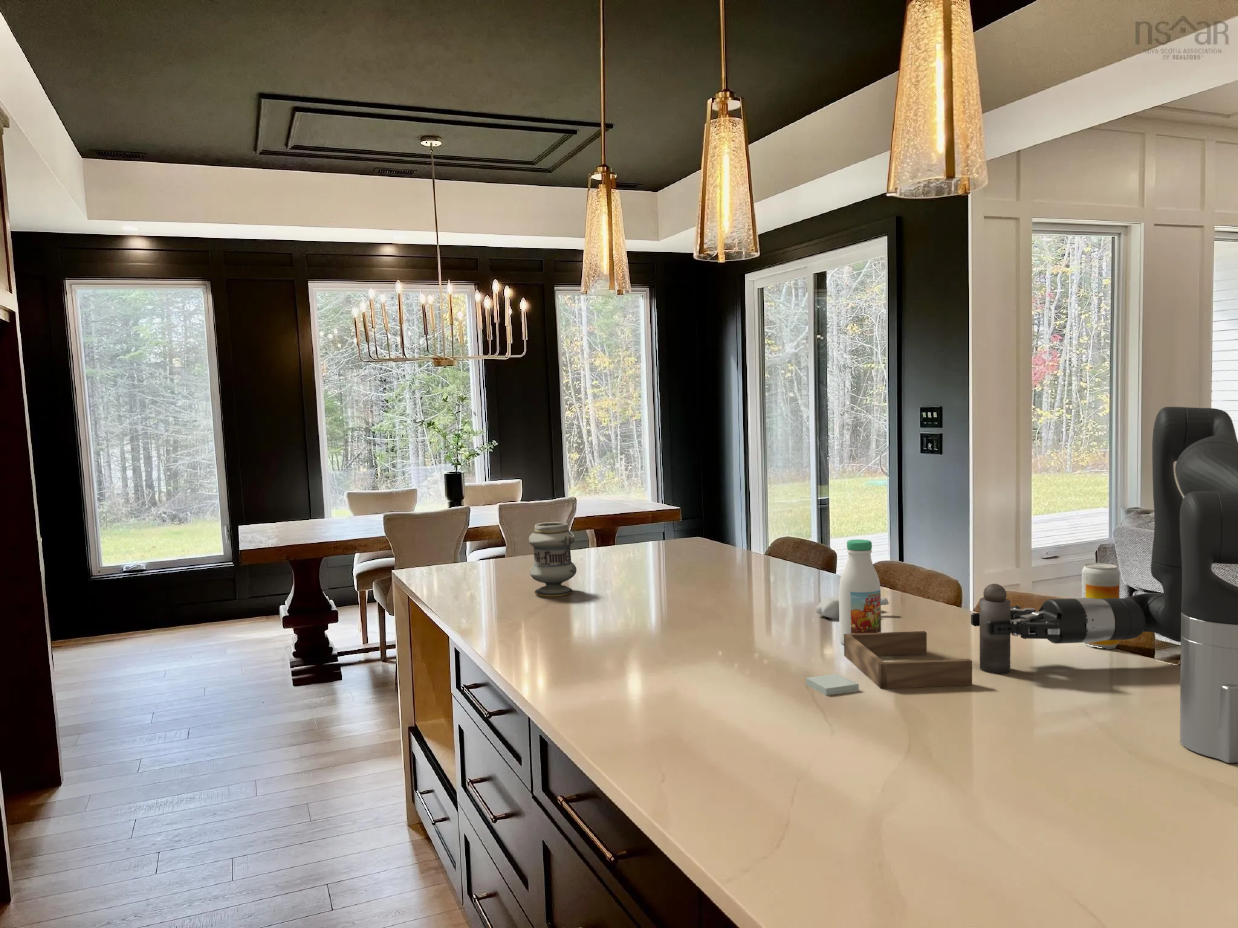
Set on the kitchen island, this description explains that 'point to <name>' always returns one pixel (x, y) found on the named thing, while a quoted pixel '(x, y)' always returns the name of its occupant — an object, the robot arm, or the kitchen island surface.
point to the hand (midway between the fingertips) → (980, 623)
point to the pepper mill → (994, 646)
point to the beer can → (1101, 589)
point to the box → (903, 673)
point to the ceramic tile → (832, 684)
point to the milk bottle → (859, 592)
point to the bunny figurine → (835, 607)
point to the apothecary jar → (552, 558)
